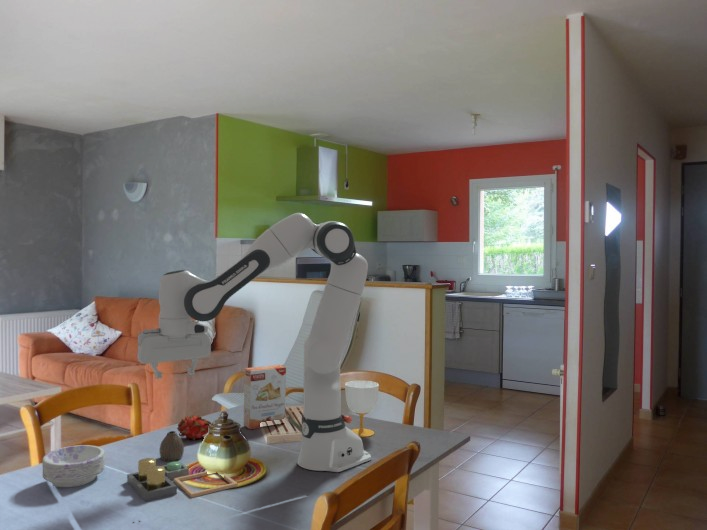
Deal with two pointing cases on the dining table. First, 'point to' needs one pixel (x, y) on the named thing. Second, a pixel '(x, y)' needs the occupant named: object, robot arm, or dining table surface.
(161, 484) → the cylinder
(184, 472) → the button housing
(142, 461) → the billet seated
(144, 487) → the grey compartment tray
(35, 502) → the dining table surface
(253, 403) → the cracker box
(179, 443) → the vase
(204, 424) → the dragon fruit
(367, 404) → the cup
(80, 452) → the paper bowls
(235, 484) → the wooden square tray
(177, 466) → the button
